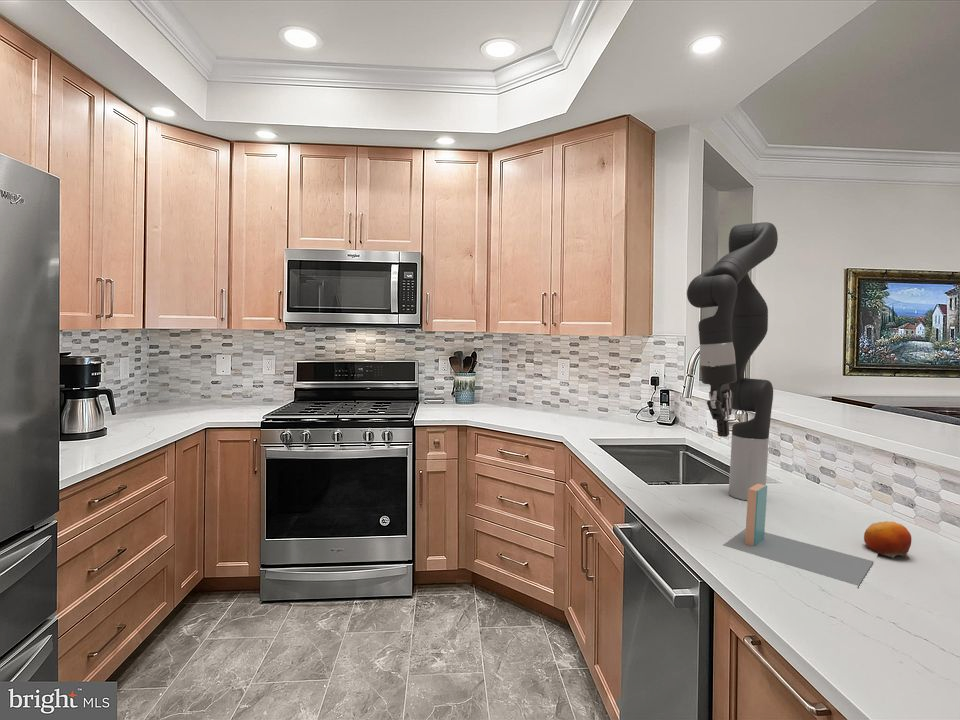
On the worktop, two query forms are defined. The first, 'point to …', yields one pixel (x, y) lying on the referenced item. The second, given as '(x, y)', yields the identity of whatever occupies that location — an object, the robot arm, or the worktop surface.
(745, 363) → the robot arm
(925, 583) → the worktop surface
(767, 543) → the mat
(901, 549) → the fruit
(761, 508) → the tile
